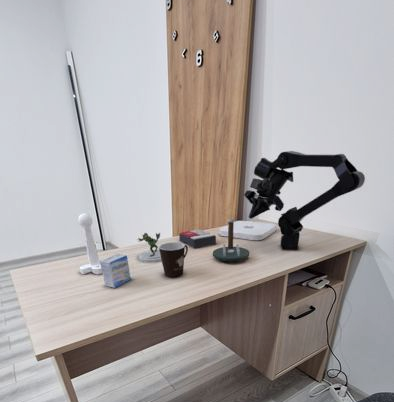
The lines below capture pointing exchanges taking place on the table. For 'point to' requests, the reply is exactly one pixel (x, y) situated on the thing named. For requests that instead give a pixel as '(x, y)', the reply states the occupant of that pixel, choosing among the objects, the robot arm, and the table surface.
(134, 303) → the table surface
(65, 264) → the table surface
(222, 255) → the pegged disc stand
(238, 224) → the computer
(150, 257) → the monster figurine
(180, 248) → the coffee mug
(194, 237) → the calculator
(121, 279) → the medicine box
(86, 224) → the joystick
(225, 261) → the turntable base
